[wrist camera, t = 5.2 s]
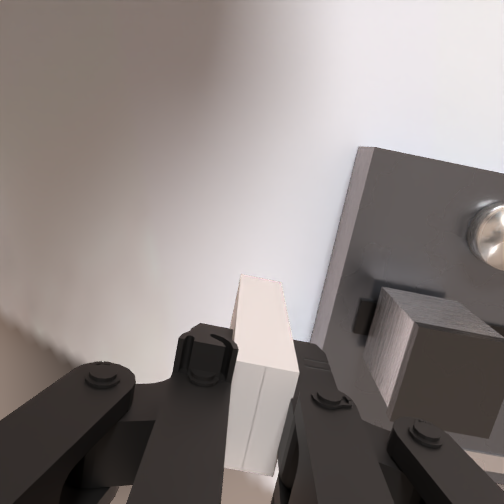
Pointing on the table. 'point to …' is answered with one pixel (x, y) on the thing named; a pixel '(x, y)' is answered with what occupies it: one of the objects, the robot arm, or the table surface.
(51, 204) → the table surface
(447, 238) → the console
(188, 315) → the table surface
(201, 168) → the table surface
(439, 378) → the slider
